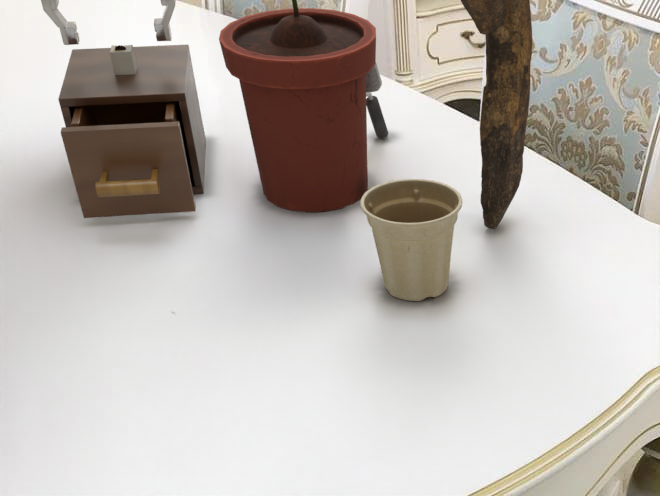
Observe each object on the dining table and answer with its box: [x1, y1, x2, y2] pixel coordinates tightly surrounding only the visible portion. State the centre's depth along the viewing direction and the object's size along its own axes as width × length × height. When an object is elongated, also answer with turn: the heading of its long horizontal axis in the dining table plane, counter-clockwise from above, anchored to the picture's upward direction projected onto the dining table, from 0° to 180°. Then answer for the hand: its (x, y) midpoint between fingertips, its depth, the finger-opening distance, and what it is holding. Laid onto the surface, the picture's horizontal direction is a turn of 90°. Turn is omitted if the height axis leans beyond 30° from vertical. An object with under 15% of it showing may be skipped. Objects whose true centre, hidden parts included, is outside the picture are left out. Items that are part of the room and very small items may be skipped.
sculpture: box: [460, 0, 533, 230], centre depth 106 cm, size 7×7×30 cm
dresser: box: [57, 44, 207, 195], centre depth 122 cm, size 15×13×11 cm
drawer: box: [60, 101, 197, 219], centre depth 116 cm, size 18×11×9 cm, turn 10°
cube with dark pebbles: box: [110, 44, 137, 75], centre depth 117 cm, size 2×2×2 cm
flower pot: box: [359, 178, 463, 302], centre depth 105 cm, size 9×9×9 cm
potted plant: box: [218, 0, 389, 213], centre depth 116 cm, size 18×22×25 cm
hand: (118, 41), depth 116 cm, fingers open, 8 cm apart
